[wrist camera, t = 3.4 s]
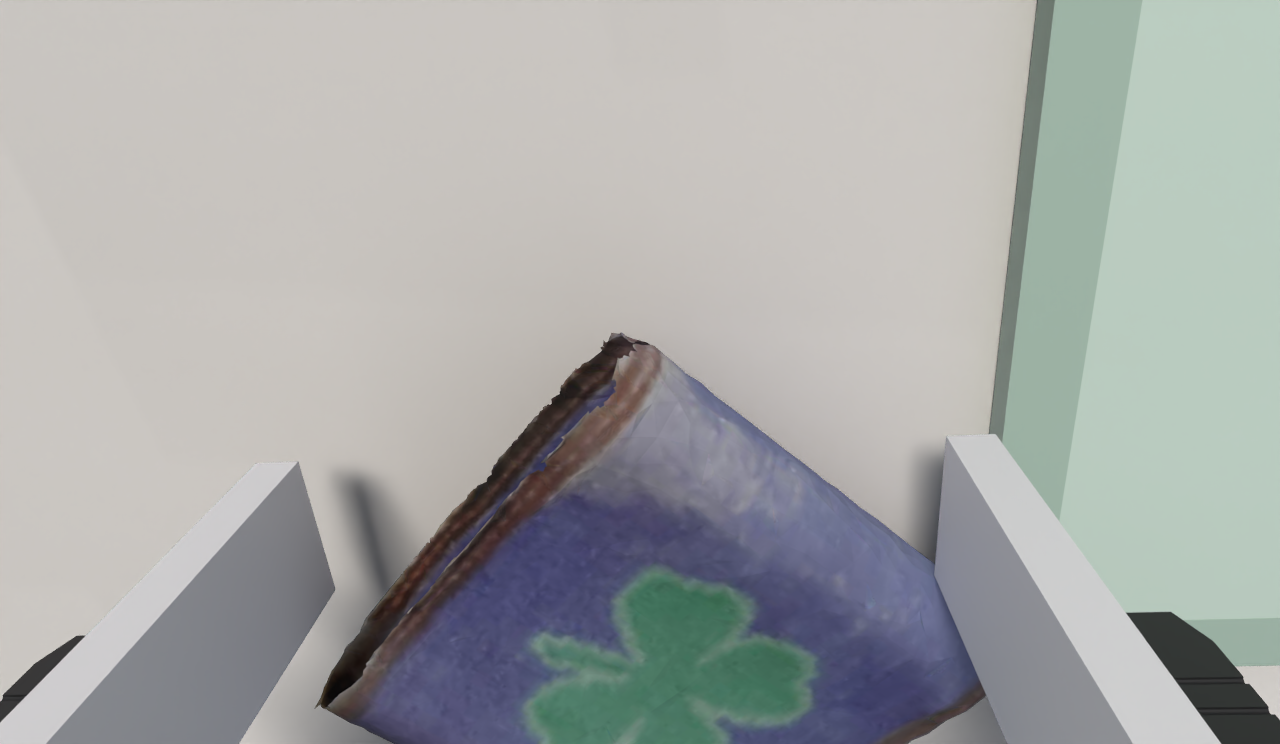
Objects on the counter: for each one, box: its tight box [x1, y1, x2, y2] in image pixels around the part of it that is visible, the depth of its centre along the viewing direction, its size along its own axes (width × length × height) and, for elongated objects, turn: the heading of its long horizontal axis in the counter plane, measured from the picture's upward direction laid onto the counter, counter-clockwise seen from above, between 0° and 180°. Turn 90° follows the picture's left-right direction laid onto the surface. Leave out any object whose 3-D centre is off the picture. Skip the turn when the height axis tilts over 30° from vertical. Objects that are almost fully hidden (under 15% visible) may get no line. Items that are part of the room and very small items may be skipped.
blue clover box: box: [315, 333, 986, 744], centre depth 15 cm, size 9×3×11 cm
